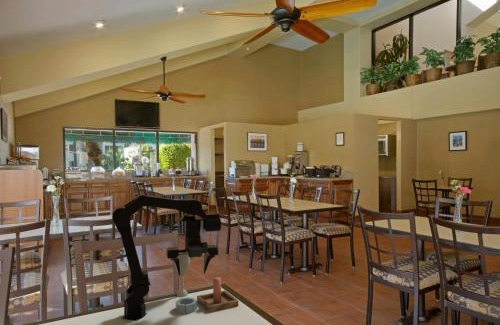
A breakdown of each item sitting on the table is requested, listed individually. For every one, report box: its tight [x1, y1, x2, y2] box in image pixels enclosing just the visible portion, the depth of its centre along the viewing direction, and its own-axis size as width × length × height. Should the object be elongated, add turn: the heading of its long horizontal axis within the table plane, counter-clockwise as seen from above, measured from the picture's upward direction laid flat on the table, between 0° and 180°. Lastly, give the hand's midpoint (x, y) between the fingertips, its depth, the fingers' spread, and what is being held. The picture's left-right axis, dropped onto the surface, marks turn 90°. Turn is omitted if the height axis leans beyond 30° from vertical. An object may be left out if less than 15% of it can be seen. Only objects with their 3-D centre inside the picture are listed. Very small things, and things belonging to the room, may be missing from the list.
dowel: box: [212, 276, 222, 304], centre depth 129 cm, size 3×3×9 cm
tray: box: [196, 290, 239, 314], centre depth 129 cm, size 12×12×2 cm
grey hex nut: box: [175, 296, 198, 315], centre depth 124 cm, size 7×7×3 cm
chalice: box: [173, 251, 191, 298], centre depth 138 cm, size 7×7×18 cm
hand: (192, 274), depth 126 cm, fingers open, 9 cm apart
